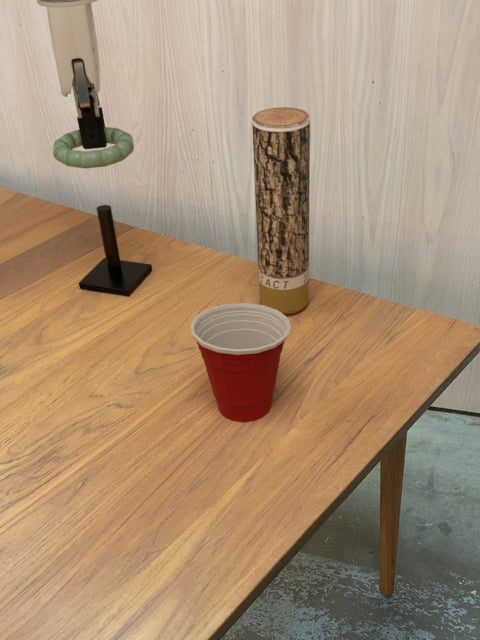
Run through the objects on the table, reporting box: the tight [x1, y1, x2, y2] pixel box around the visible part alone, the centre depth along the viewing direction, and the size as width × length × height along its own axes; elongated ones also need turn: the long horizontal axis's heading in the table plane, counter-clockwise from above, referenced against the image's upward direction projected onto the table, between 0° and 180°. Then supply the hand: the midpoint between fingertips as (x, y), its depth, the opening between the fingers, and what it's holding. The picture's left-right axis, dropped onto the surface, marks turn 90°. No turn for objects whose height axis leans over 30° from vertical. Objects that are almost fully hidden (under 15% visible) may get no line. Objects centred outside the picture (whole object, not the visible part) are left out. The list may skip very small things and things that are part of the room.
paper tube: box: [251, 106, 311, 316], centre depth 100 cm, size 7×7×25 cm
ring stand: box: [78, 204, 153, 297], centre depth 111 cm, size 8×8×11 cm
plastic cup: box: [189, 302, 292, 423], centre depth 87 cm, size 11×11×12 cm
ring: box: [52, 126, 135, 169], centre depth 102 cm, size 10×10×2 cm
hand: (95, 142), depth 105 cm, fingers closed on ring, 2 cm apart
